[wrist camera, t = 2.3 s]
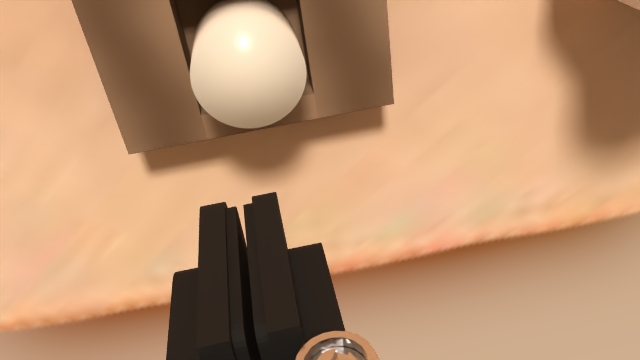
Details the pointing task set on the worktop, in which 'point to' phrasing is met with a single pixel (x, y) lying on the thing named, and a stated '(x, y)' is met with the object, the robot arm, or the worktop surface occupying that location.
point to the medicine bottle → (632, 3)
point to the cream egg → (247, 63)
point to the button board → (176, 51)
